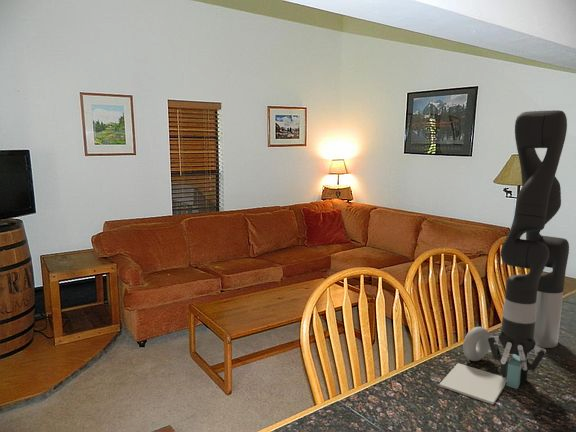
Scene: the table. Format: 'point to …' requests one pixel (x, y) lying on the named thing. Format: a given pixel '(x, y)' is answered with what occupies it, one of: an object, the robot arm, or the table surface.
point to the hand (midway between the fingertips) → (513, 378)
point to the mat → (474, 383)
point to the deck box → (514, 372)
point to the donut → (476, 344)
